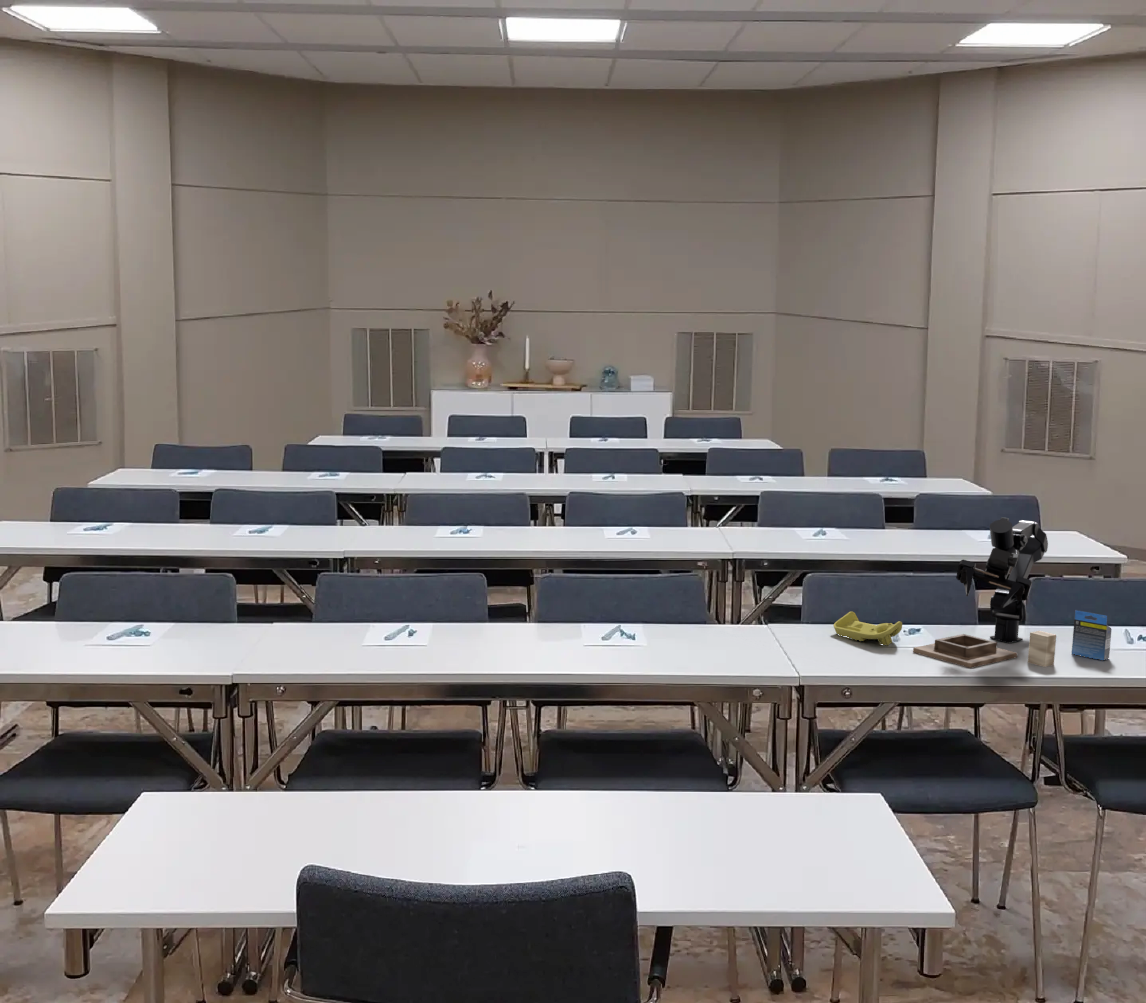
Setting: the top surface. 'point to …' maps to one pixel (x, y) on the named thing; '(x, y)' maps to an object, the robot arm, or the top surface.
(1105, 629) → the blue retail box
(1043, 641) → the birch peg
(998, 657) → the holder board
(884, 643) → the plastic component
